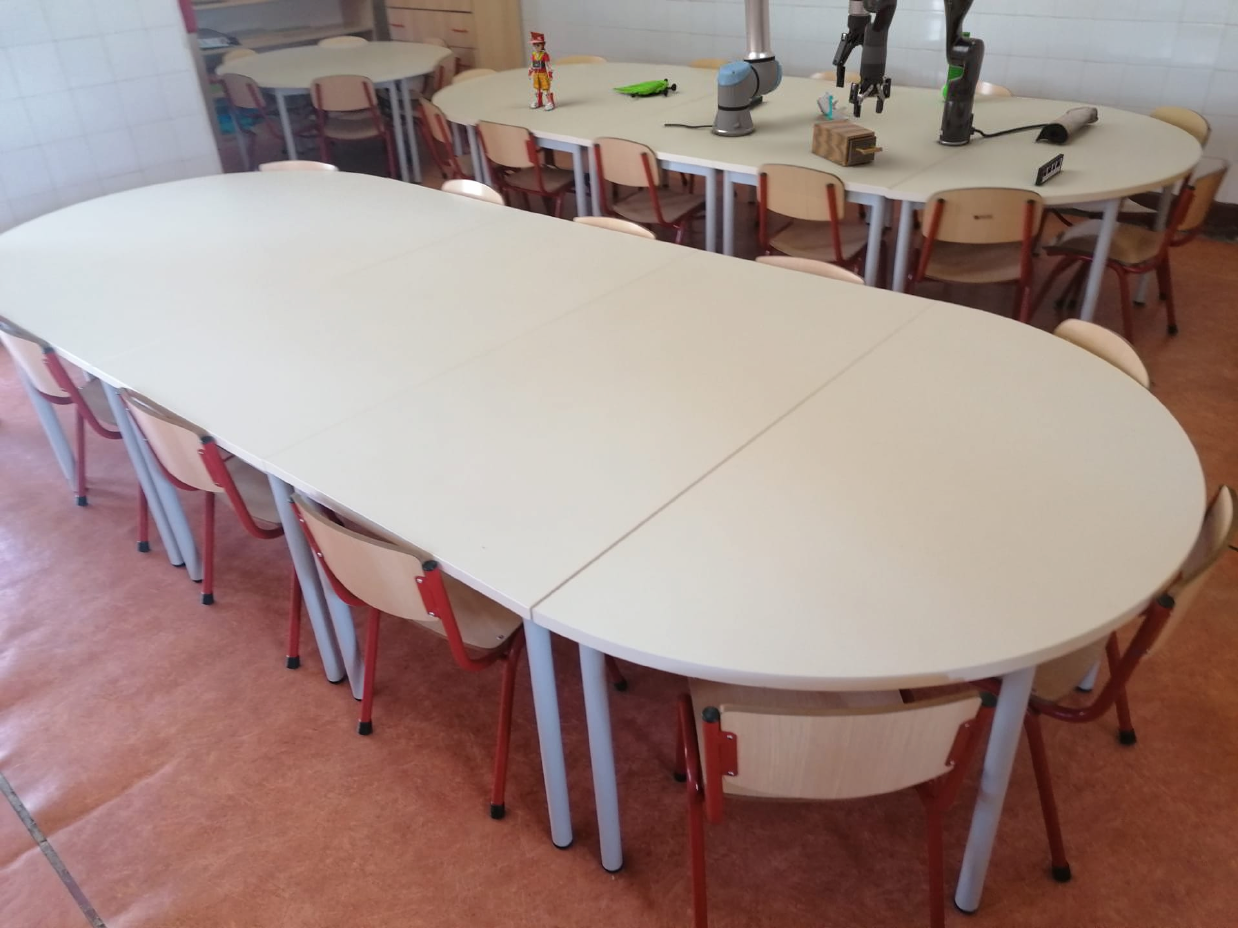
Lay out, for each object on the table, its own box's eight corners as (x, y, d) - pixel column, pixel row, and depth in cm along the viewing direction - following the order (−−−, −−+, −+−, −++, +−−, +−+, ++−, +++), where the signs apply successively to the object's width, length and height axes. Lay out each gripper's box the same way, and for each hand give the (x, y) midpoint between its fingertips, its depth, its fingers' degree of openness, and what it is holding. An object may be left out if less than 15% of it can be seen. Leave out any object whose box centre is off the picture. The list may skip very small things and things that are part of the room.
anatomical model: (812, 91, 345) (837, 84, 345) (815, 118, 351) (840, 111, 351) (822, 101, 333) (849, 93, 332) (825, 128, 339) (851, 121, 338)
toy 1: (525, 109, 381) (517, 32, 364) (534, 104, 388) (527, 28, 371) (550, 110, 377) (543, 32, 360) (559, 105, 384) (553, 28, 367)
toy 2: (686, 85, 398) (631, 84, 414) (685, 72, 395) (629, 72, 411) (651, 104, 381) (596, 103, 397) (650, 92, 378) (594, 91, 394)
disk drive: (747, 111, 360) (763, 102, 370) (747, 104, 359) (763, 95, 369) (724, 109, 365) (740, 100, 375) (724, 101, 363) (740, 93, 373)
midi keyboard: (1039, 185, 269) (1043, 168, 266) (1035, 184, 270) (1038, 168, 267) (1060, 170, 279) (1064, 154, 277) (1056, 169, 280) (1060, 153, 277)
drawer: (884, 164, 291) (886, 140, 287) (859, 169, 288) (862, 145, 284) (842, 146, 310) (844, 124, 305) (818, 151, 307) (820, 128, 303)
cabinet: (871, 161, 298) (874, 131, 292) (844, 166, 295) (847, 136, 289) (837, 147, 313) (840, 118, 308) (811, 151, 310) (813, 123, 305)
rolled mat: (1064, 112, 323) (1089, 94, 314) (1078, 133, 323) (1104, 116, 315) (1031, 135, 305) (1057, 117, 297) (1046, 157, 306) (1072, 140, 298)
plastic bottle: (973, 101, 354) (984, 32, 339) (955, 106, 349) (966, 36, 335) (952, 97, 361) (962, 29, 346) (934, 102, 356) (944, 33, 342)
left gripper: (842, 21, 283) (836, 91, 295) (894, 10, 294) (887, 78, 306) (824, 18, 288) (819, 88, 300) (876, 8, 299) (869, 75, 312)
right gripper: (862, 65, 270) (857, 121, 279) (900, 59, 275) (893, 114, 284) (847, 61, 276) (842, 116, 285) (883, 55, 280) (878, 109, 290)
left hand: (853, 83), depth 303 cm, fingers open, 13 cm apart
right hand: (867, 115), depth 284 cm, fingers open, 8 cm apart
